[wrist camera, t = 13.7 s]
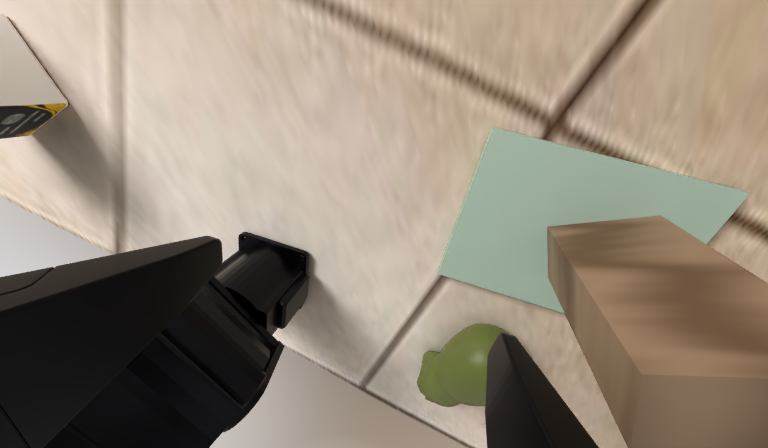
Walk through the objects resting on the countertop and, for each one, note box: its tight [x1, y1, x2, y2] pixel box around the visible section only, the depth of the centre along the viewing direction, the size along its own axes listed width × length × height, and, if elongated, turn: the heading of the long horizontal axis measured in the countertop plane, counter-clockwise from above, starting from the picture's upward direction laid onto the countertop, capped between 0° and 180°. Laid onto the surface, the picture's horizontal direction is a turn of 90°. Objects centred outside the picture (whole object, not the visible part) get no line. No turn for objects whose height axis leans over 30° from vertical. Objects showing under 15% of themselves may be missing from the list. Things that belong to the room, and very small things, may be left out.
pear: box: [417, 324, 508, 407], centre depth 24 cm, size 6×5×10 cm
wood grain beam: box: [547, 215, 768, 448], centre depth 14 cm, size 6×4×11 cm, turn 103°
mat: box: [438, 127, 750, 314], centre depth 19 cm, size 14×11×1 cm
